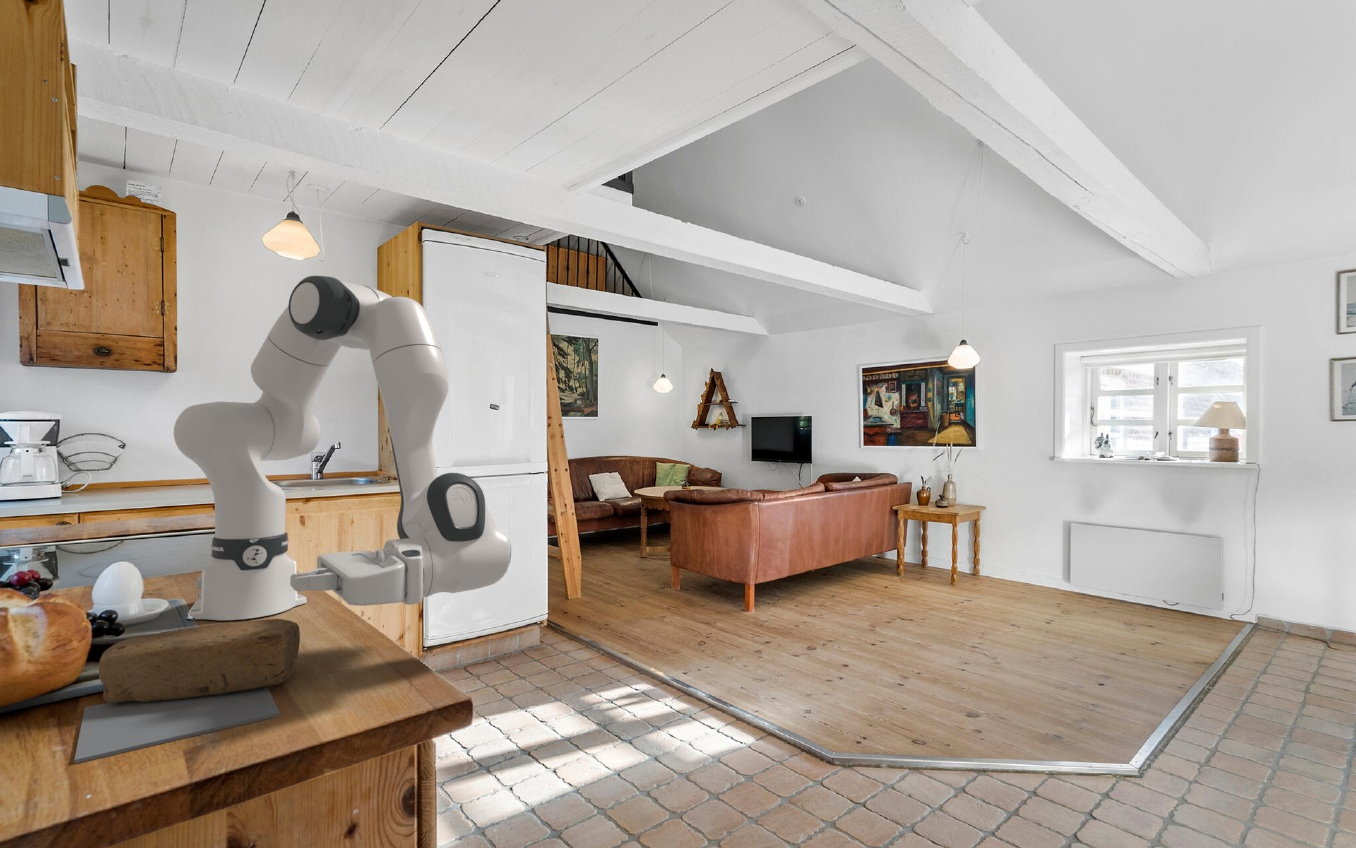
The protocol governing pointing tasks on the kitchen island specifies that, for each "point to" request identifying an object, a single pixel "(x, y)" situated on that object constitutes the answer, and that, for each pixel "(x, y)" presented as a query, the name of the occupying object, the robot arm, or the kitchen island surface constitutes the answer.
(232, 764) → the kitchen island surface
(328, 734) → the kitchen island surface
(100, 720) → the mat
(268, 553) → the robot arm
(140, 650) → the block
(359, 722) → the kitchen island surface
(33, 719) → the kitchen island surface
